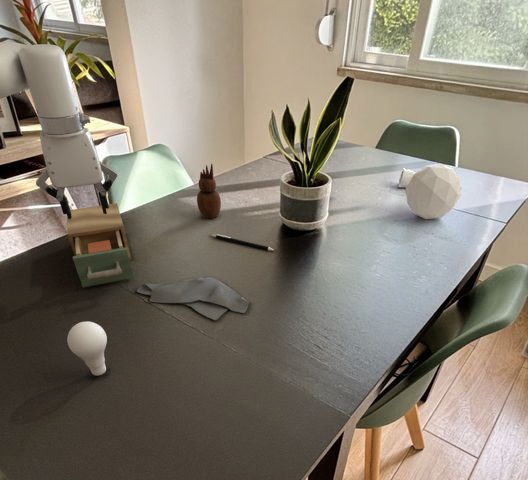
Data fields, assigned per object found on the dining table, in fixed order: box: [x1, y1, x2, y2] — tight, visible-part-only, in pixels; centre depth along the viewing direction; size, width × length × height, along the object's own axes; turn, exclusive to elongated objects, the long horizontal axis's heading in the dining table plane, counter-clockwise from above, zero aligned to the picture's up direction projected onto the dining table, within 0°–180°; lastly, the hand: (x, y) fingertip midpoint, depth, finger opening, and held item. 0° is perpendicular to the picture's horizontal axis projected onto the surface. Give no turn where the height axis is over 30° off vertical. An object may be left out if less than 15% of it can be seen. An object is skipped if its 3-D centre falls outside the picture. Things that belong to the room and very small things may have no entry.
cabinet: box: [66, 203, 133, 261], centre depth 108 cm, size 15×13×9 cm
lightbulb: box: [66, 321, 108, 377], centre depth 73 cm, size 6×6×11 cm
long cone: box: [397, 168, 418, 188], centre depth 139 cm, size 6×6×19 cm
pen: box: [211, 233, 275, 252], centre depth 113 cm, size 1×19×1 cm, turn 62°
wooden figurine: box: [196, 163, 222, 219], centre depth 122 cm, size 7×6×15 cm
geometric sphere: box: [405, 162, 462, 220], centre depth 120 cm, size 14×15×15 cm
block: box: [88, 240, 112, 253], centre depth 100 cm, size 5×5×5 cm
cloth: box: [136, 276, 250, 321], centre depth 94 cm, size 26×14×2 cm, turn 63°
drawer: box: [72, 230, 134, 288], centre depth 98 cm, size 18×11×7 cm, turn 20°
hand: (87, 213), depth 93 cm, fingers open, 6 cm apart
